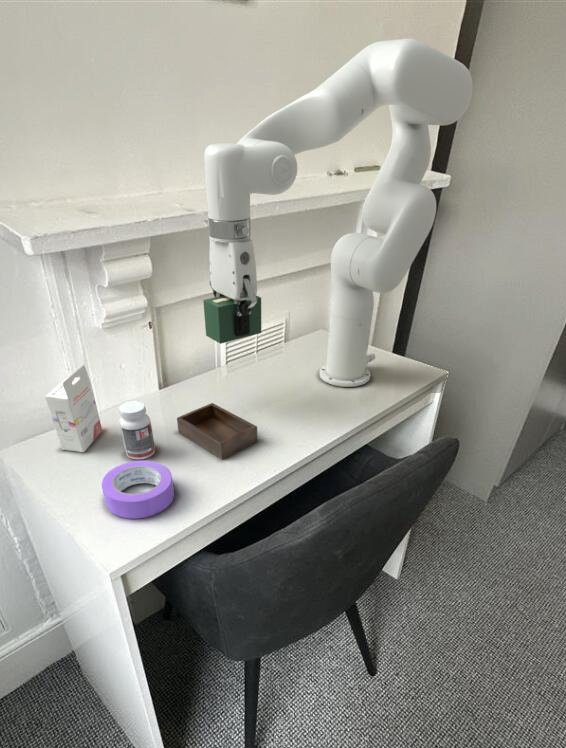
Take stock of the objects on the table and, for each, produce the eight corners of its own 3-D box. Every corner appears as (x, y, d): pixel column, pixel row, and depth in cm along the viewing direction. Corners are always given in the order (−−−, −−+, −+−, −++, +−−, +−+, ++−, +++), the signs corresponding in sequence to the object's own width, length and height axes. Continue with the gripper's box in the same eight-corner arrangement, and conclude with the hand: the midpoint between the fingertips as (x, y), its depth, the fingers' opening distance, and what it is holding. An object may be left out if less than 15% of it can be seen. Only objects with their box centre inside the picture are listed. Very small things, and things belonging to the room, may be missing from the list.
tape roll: (188, 495, 86) (186, 477, 84) (133, 528, 80) (129, 510, 77) (146, 470, 92) (143, 452, 90) (92, 498, 86) (87, 480, 83)
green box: (246, 325, 105) (245, 289, 100) (261, 333, 101) (261, 296, 97) (205, 335, 100) (203, 298, 96) (220, 344, 97) (218, 306, 92)
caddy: (213, 417, 108) (212, 402, 105) (257, 441, 100) (257, 426, 98) (178, 432, 103) (176, 417, 100) (222, 459, 95) (220, 444, 93)
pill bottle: (161, 453, 97) (153, 407, 90) (135, 464, 94) (126, 417, 87) (146, 441, 100) (137, 396, 94) (120, 451, 97) (110, 406, 91)
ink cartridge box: (81, 428, 104) (63, 361, 94) (103, 431, 103) (87, 363, 94) (60, 450, 97) (38, 380, 88) (83, 453, 97) (64, 383, 87)
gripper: (275, 234, 85) (273, 339, 97) (222, 219, 96) (226, 315, 107) (238, 240, 82) (242, 347, 93) (187, 224, 92) (196, 322, 104)
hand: (233, 329), depth 100 cm, fingers closed on green box, 5 cm apart
